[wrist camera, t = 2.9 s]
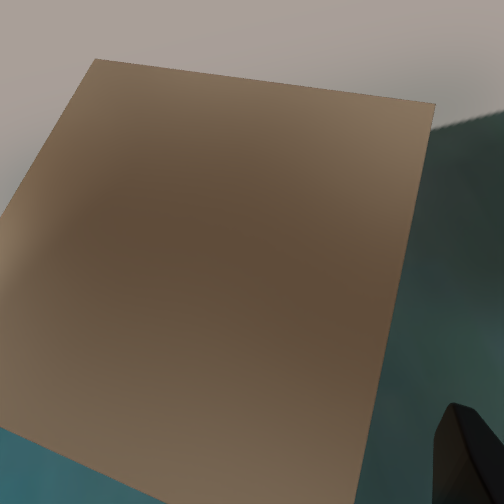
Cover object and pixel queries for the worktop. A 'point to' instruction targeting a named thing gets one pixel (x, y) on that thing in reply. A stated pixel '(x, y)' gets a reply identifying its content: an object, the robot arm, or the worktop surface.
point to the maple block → (208, 282)
